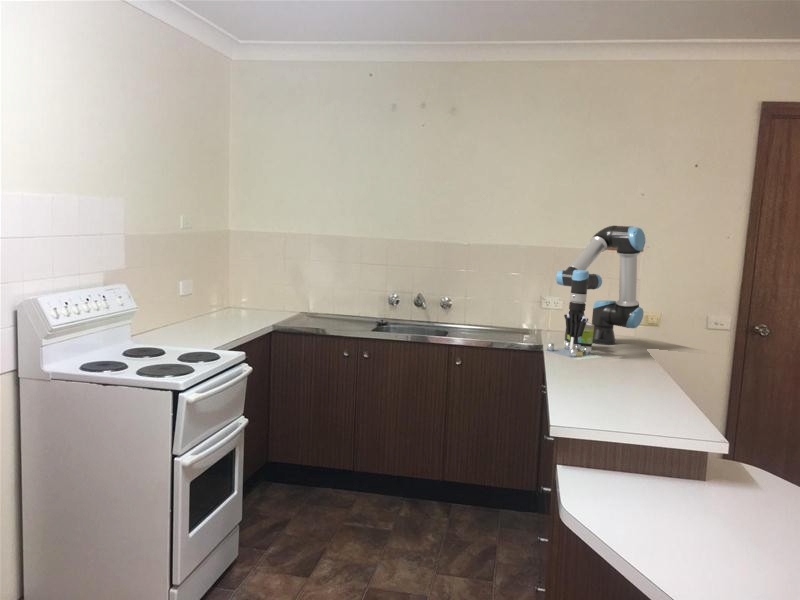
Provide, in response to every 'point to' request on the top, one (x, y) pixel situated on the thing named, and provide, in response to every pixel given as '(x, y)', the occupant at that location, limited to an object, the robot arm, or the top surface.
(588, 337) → the tea box
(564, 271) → the robot arm
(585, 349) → the set of silver spheres
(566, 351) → the board
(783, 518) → the top surface
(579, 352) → the nut
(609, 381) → the top surface
